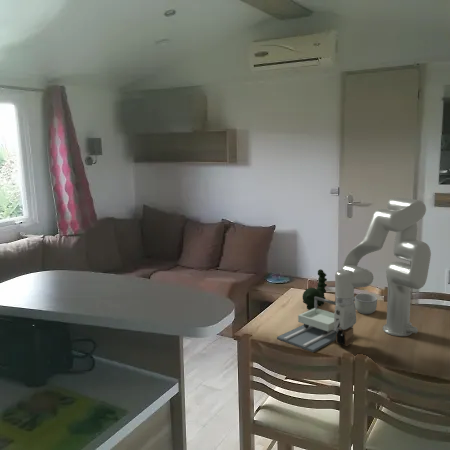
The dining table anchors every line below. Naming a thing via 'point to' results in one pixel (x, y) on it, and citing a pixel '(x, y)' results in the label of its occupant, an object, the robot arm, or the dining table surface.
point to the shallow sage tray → (318, 317)
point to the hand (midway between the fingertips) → (344, 340)
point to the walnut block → (347, 336)
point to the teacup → (365, 303)
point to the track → (308, 337)
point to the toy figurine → (315, 292)
